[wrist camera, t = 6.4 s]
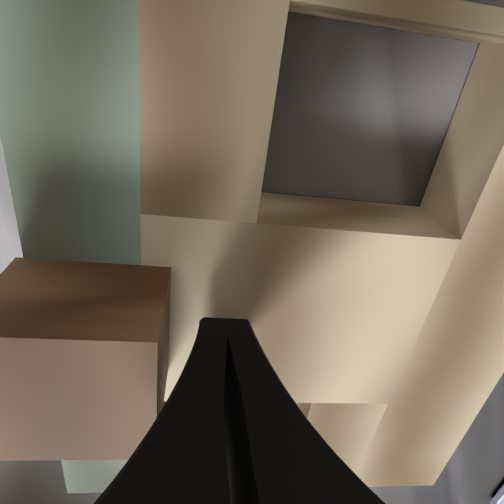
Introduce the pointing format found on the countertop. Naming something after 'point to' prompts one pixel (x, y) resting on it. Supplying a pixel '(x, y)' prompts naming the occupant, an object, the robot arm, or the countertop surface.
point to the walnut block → (81, 358)
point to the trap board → (266, 211)
